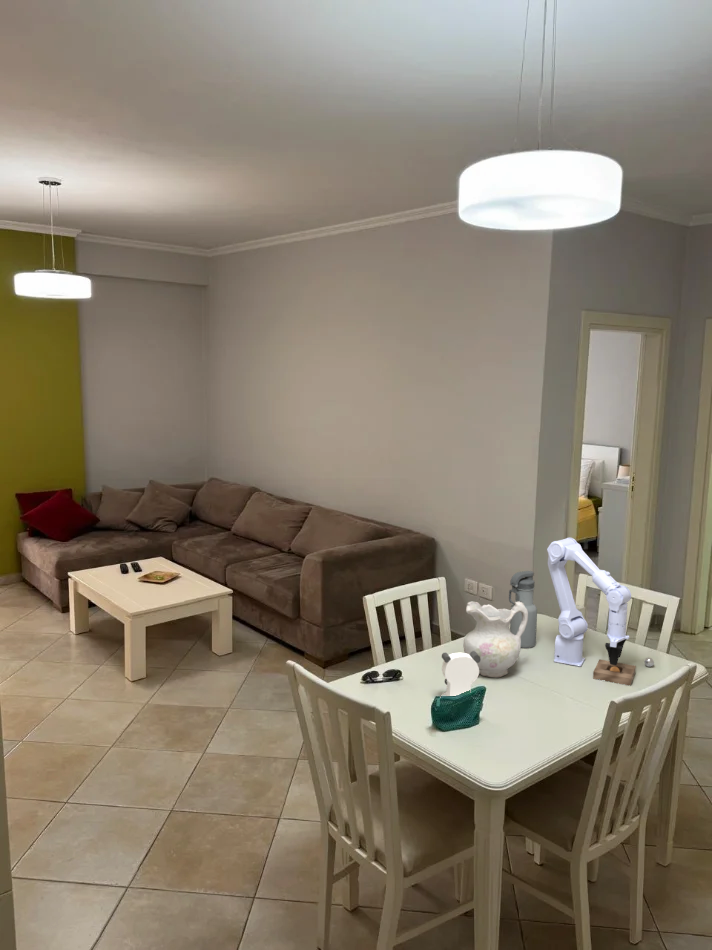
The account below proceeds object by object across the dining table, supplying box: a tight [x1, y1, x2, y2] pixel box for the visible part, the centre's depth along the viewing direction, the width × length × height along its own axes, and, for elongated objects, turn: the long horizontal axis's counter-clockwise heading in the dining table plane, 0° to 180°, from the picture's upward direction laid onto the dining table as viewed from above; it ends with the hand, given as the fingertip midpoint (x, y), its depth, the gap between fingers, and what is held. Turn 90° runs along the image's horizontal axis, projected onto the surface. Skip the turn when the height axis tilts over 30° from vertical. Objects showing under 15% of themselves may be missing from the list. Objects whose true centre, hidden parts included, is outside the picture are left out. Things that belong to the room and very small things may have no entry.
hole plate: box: [592, 659, 637, 686], centre depth 247 cm, size 12×12×2 cm
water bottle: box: [508, 570, 538, 649], centre depth 274 cm, size 10×10×28 cm
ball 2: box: [643, 656, 655, 668], centre depth 255 cm, size 3×3×3 cm
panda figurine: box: [440, 651, 481, 697], centre depth 228 cm, size 12×11×15 cm
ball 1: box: [610, 666, 620, 672], centre depth 247 cm, size 3×3×3 cm
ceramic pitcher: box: [462, 601, 528, 679], centre depth 250 cm, size 22×20×25 cm
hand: (615, 660), depth 247 cm, fingers open, 7 cm apart
